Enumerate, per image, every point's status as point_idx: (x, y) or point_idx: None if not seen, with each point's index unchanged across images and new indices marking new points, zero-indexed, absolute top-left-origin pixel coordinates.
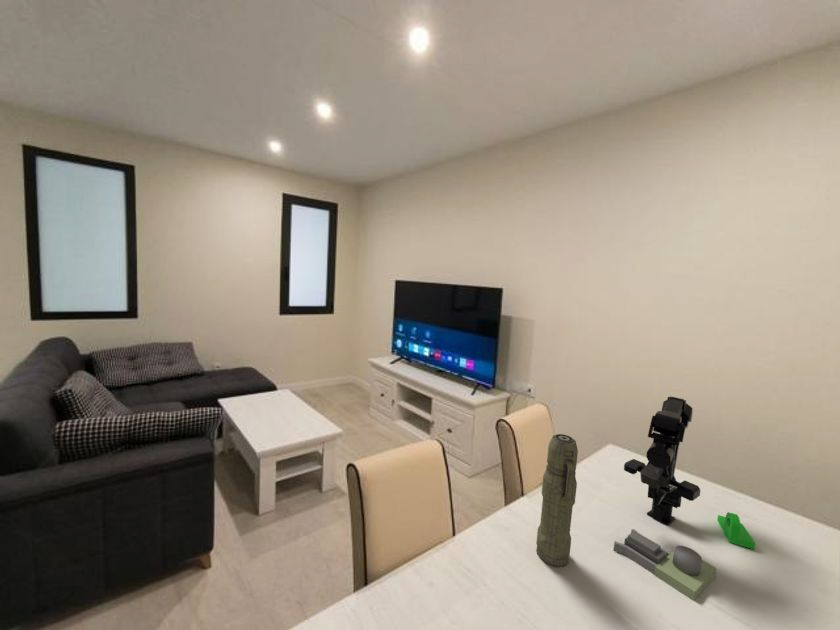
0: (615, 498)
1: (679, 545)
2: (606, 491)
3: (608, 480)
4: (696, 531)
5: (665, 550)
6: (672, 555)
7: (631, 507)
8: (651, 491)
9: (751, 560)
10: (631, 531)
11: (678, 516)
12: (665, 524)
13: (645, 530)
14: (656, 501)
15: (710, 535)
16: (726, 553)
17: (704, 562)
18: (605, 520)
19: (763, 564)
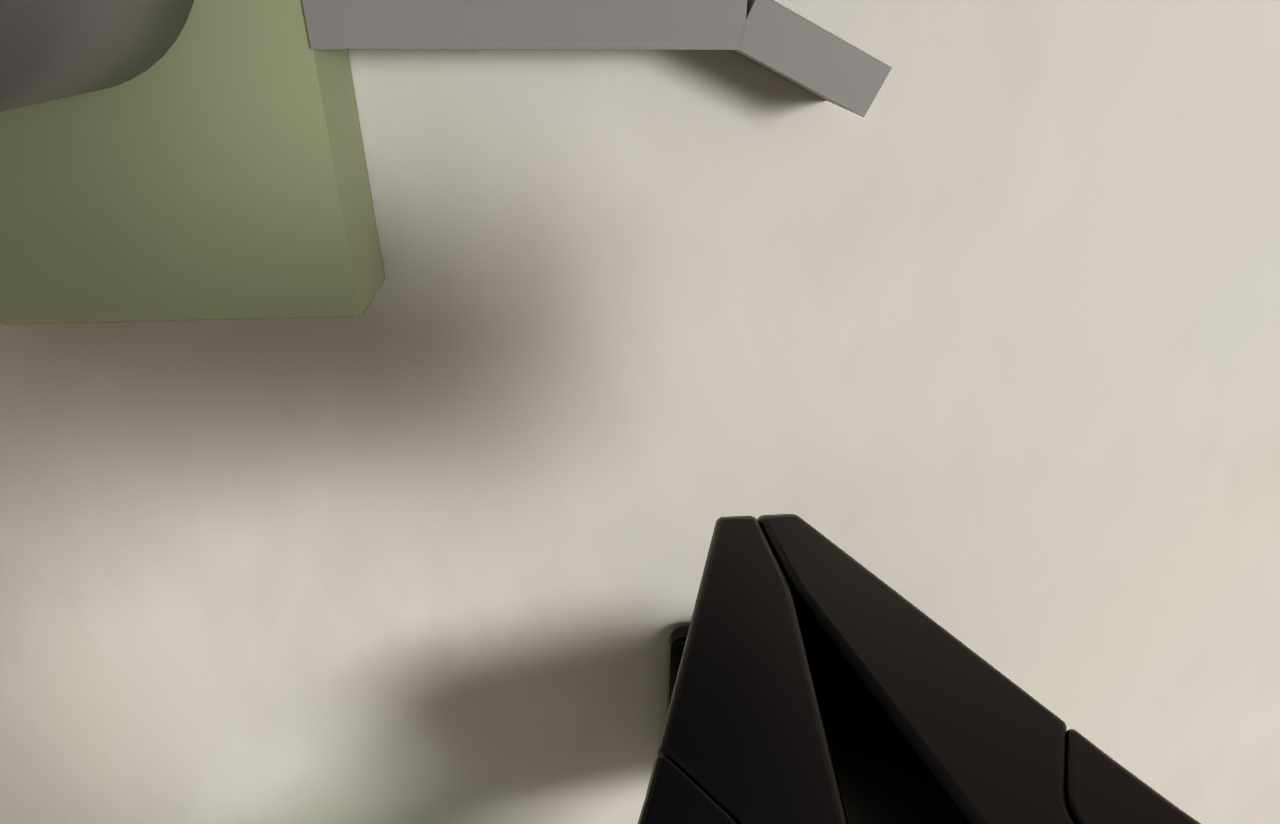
0: (1165, 599)
1: (60, 11)
2: (1263, 625)
3: (1268, 777)
4: (495, 754)
5: (377, 29)
6: (269, 12)
7: (1003, 601)
8: (1137, 805)
9: (91, 771)
10: (876, 61)
11: None
12: (687, 627)
13: (776, 369)
14: (771, 576)
15: (412, 793)
16: (215, 697)
17: (36, 295)
18: (1193, 91)
19: (31, 797)
